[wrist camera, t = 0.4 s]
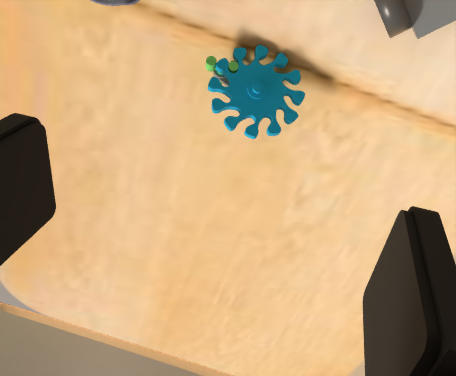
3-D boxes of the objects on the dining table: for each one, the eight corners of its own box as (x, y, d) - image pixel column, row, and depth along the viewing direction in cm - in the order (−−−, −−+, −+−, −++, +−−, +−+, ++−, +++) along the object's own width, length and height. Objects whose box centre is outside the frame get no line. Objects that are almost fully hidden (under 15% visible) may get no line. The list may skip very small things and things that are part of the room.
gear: (325, 81, 42) (268, 154, 40) (308, 103, 48) (258, 168, 46) (240, 17, 42) (179, 86, 40) (234, 46, 48) (180, 108, 46)
